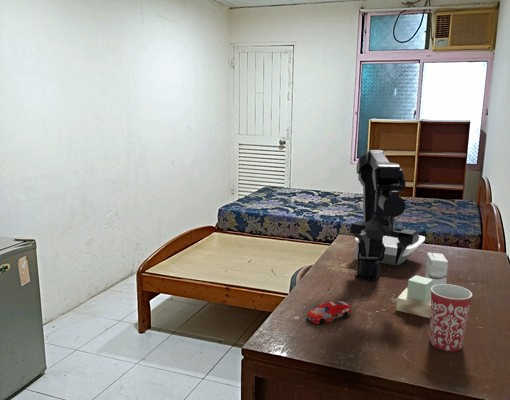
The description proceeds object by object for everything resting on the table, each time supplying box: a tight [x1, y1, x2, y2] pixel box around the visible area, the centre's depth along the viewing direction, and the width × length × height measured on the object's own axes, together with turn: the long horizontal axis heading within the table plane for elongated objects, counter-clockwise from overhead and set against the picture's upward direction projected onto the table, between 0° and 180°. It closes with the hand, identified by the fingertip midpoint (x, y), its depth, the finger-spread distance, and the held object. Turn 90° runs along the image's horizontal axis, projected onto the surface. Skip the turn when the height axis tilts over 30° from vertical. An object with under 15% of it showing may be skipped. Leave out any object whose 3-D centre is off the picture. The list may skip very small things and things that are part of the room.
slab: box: [396, 287, 431, 319], centre depth 129 cm, size 9×9×4 cm
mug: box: [429, 283, 473, 352], centre depth 110 cm, size 13×9×14 cm
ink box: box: [424, 252, 449, 286], centre depth 139 cm, size 9×5×12 cm, turn 168°
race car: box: [306, 300, 353, 326], centre depth 123 cm, size 13×5×4 cm, turn 118°
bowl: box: [354, 234, 426, 266], centre depth 171 cm, size 22×23×8 cm
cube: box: [407, 274, 433, 302], centre depth 128 cm, size 5×5×5 cm
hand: (381, 260), depth 134 cm, fingers open, 9 cm apart
